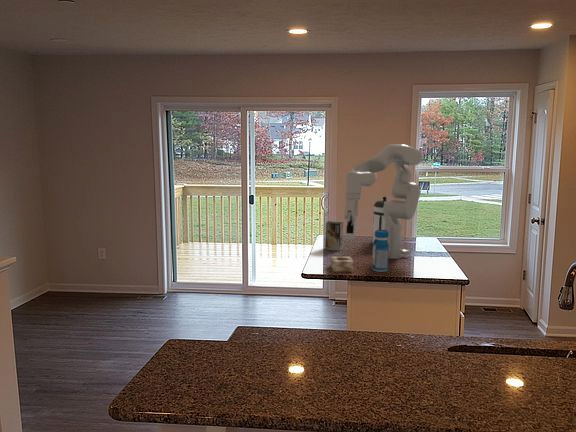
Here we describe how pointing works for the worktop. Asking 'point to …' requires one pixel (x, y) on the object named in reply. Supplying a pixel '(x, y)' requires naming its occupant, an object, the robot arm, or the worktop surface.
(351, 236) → the peg
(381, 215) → the coffee press
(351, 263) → the socket block
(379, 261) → the beverage bottle
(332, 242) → the coffee box
